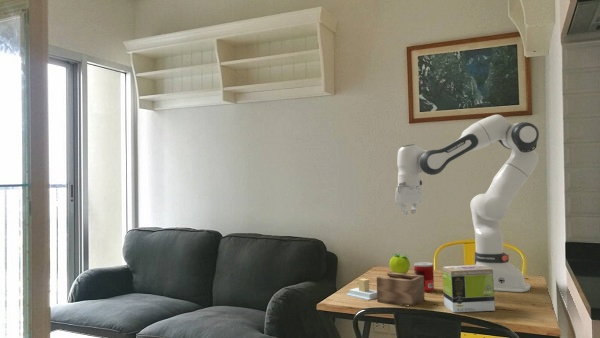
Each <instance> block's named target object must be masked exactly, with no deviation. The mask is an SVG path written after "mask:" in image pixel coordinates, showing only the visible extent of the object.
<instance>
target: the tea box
mask: <svg viewBox="0 0 600 338" xmlns="http://www.w3.org/2000/svg"><path fill="white" fill-rule="evenodd" d="M442 288H443V290H442V291H443V303H444V304H443V305H444V307H446V308H447V309H448V310H449V309H450V312H453V313H466V312H467V313H472V312H491V311H492V312H496V300H495V290H494V281H493V269H490V268H488V267H485V266H483V265H475V264H465V265H464V264H463V265H447V266H444V265H443V266H442Z"/></svg>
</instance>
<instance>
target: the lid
mask: <svg viewBox="0 0 600 338" xmlns="http://www.w3.org/2000/svg"><path fill="white" fill-rule="evenodd" d="M345 296H347V297H352V298H356V299H360V300H365V301H371V300H375V299H377V290H373V289H370V279H369V278H359V279H358V287H355V288H351V289H348V293H345Z"/></svg>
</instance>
